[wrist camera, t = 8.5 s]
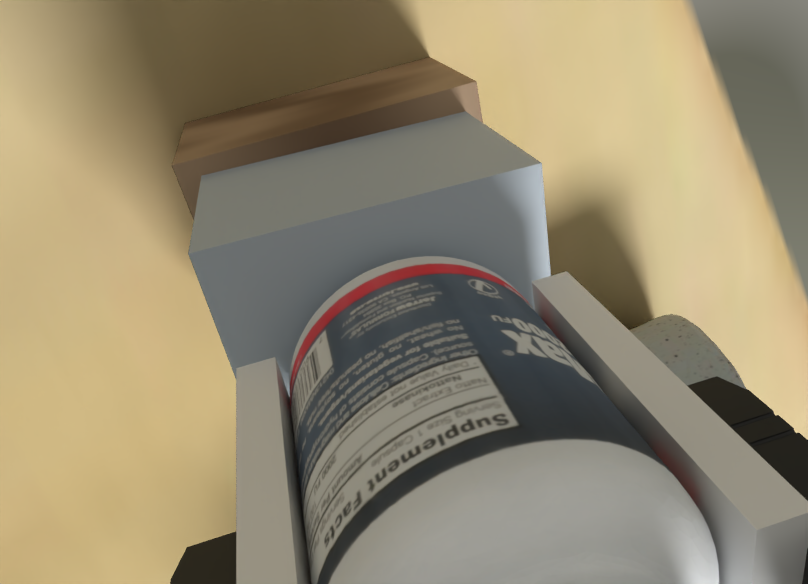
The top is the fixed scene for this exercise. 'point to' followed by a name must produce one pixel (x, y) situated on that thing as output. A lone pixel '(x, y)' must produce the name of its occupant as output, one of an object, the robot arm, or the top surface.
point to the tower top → (360, 224)
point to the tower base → (321, 118)
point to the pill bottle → (472, 446)
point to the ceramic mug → (685, 350)
